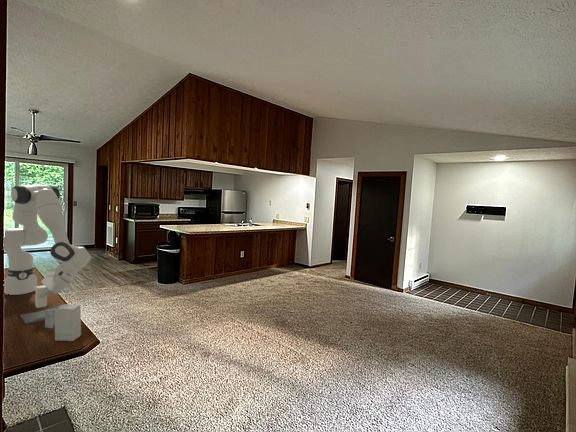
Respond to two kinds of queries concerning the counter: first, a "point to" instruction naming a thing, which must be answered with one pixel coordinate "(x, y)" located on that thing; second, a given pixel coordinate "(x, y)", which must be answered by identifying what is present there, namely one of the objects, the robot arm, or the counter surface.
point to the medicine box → (50, 318)
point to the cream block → (38, 300)
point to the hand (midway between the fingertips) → (39, 295)
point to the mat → (33, 317)
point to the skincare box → (67, 322)
